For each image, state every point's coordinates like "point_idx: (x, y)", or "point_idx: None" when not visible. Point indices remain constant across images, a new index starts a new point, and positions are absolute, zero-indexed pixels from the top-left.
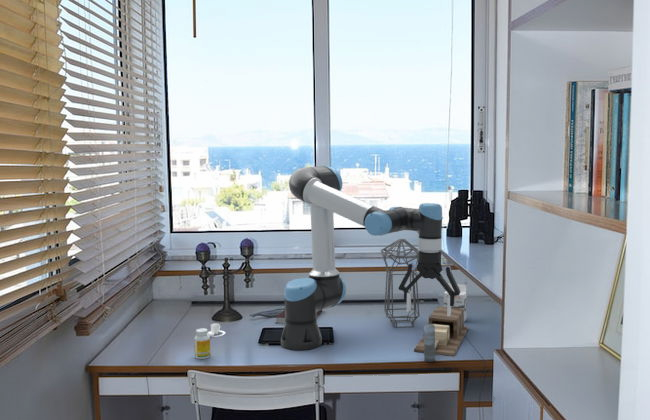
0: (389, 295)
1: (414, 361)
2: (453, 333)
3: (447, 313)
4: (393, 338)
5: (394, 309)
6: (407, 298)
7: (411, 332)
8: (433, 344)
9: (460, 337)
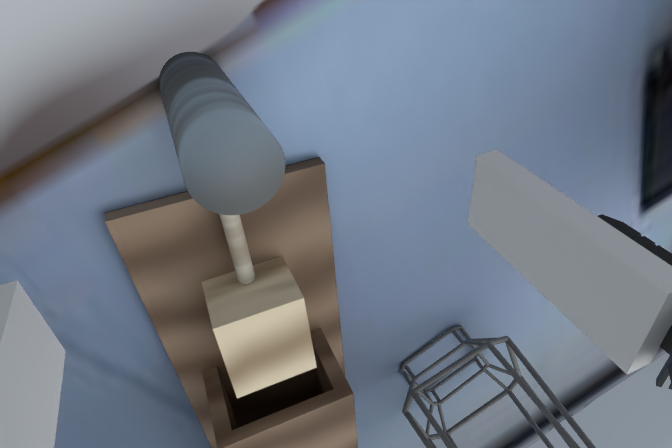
0: (542, 435)
1: (262, 18)
2: (220, 384)
3: (4, 307)
4: (440, 242)
5: (491, 400)
6: (611, 233)
7: (393, 326)
8: (169, 104)
9: (194, 389)
